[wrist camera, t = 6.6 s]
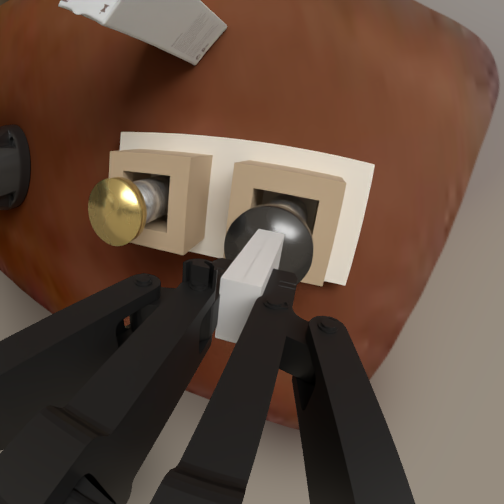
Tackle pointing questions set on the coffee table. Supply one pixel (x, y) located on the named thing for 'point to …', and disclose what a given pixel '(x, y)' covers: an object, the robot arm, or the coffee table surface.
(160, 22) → the skincare box
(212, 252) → the socket board
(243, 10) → the coffee table surface
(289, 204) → the plug black
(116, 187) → the plug brass
